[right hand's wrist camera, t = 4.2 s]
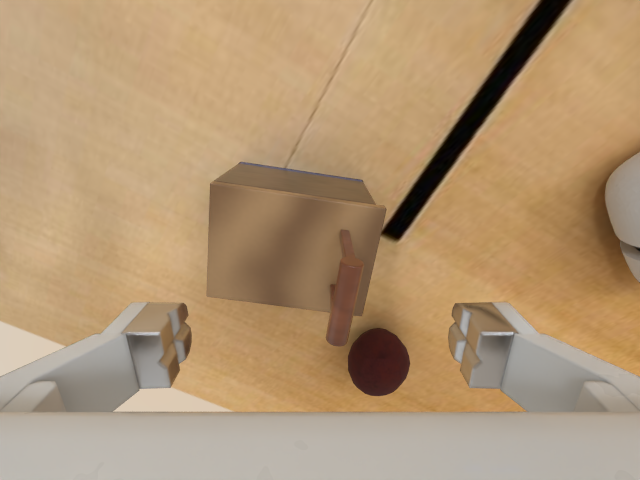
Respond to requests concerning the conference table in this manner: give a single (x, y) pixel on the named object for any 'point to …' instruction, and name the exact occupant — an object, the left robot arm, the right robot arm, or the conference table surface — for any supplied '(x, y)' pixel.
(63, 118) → the conference table surface
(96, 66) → the conference table surface
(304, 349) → the conference table surface
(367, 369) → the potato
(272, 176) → the chest
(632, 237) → the white rounded block
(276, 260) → the lid
